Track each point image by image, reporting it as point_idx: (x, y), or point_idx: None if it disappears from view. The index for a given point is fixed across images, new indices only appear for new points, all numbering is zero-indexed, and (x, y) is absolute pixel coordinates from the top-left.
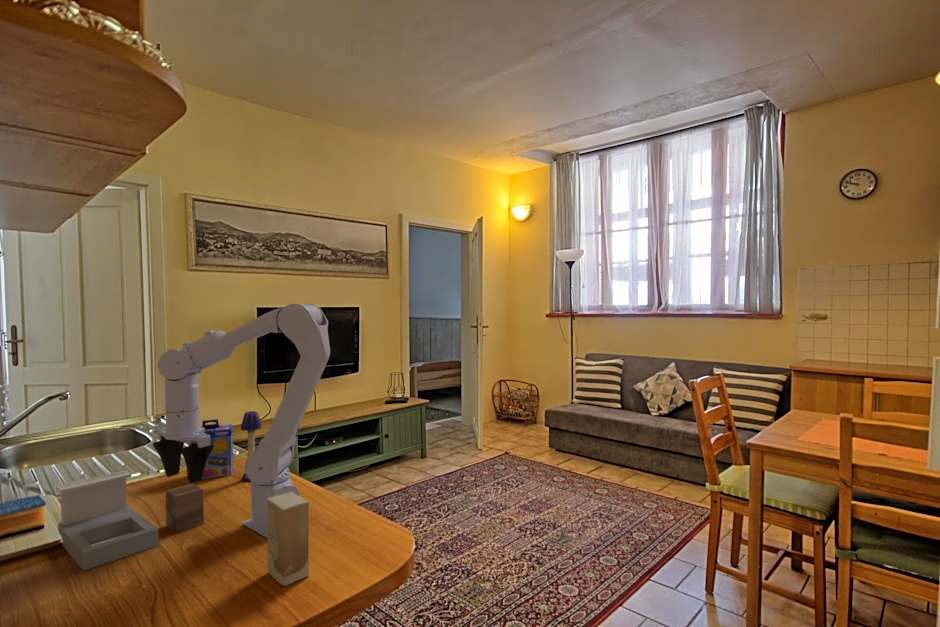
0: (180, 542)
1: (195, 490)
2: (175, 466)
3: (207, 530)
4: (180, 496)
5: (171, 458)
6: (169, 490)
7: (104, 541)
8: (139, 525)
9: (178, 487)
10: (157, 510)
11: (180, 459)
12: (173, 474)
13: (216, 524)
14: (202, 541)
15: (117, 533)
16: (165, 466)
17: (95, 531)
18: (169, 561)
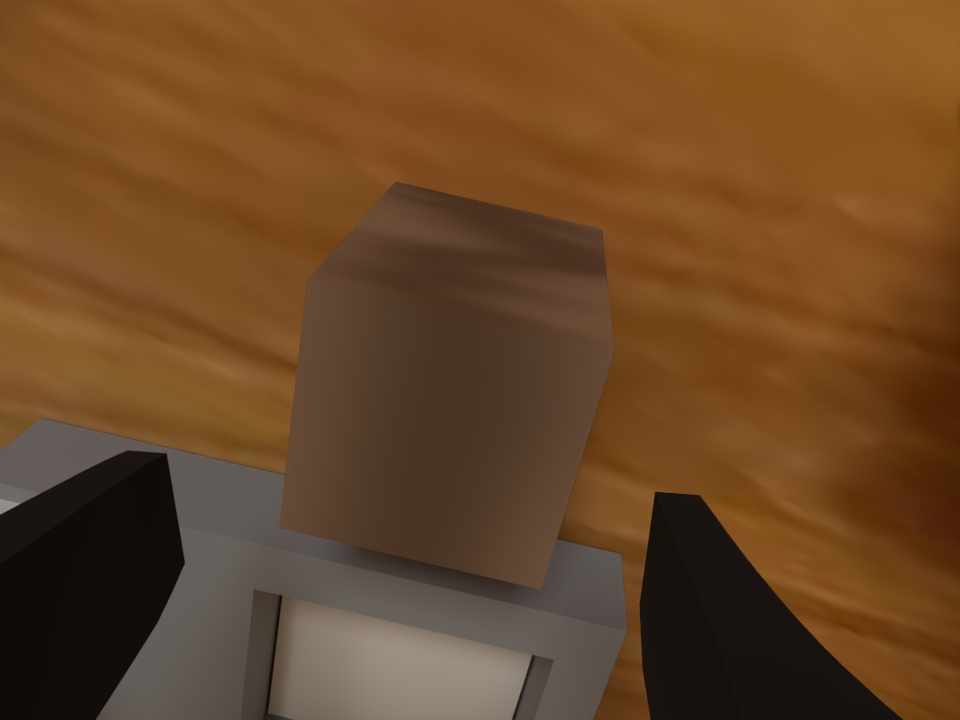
0: (716, 481)
1: (572, 415)
2: (109, 557)
3: (738, 293)
4: (552, 545)
5: (30, 708)
6: (308, 511)
7: (294, 641)
8: (432, 627)
9: (303, 429)
10: (7, 225)
11: (31, 540)
12: (170, 519)
13: (713, 189)
14: (858, 419)
15: (274, 594)
16: (105, 695)
17: (246, 715)
18: (873, 638)
